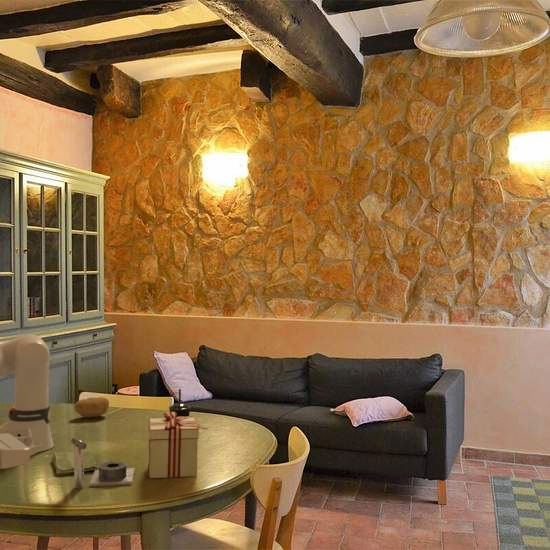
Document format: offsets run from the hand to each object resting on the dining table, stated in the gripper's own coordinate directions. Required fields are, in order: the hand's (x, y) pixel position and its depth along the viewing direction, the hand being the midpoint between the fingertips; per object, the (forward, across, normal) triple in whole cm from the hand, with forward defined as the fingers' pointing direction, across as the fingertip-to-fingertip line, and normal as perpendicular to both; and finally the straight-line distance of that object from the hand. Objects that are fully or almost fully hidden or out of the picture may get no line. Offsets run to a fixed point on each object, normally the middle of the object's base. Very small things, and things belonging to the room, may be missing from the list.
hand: (36, 443), depth 181 cm
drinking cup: (+56, -20, -16) cm, 61 cm away
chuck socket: (+23, -2, -15) cm, 28 cm away
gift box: (+42, +3, -16) cm, 45 cm away
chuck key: (+12, -1, -15) cm, 19 cm away
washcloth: (+18, -20, -16) cm, 32 cm away
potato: (+47, -76, -15) cm, 91 cm away
